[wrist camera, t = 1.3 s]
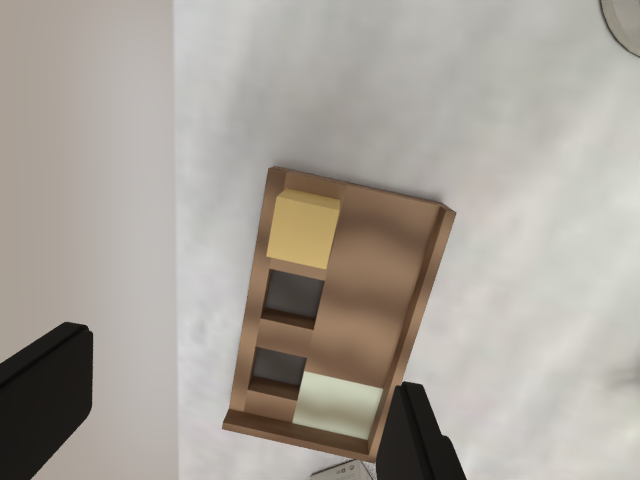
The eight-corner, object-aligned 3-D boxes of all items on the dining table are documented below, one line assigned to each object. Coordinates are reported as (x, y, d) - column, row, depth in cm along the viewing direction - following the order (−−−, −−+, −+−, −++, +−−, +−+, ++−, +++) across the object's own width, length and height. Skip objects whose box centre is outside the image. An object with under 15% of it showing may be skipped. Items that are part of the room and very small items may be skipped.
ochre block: (286, 188, 29) (276, 196, 25) (340, 200, 29) (339, 210, 25) (277, 239, 30) (266, 256, 26) (328, 251, 30) (326, 269, 26)
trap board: (274, 166, 31) (263, 170, 27) (442, 203, 31) (456, 212, 27) (235, 398, 38) (221, 429, 34) (371, 429, 38) (374, 463, 34)
